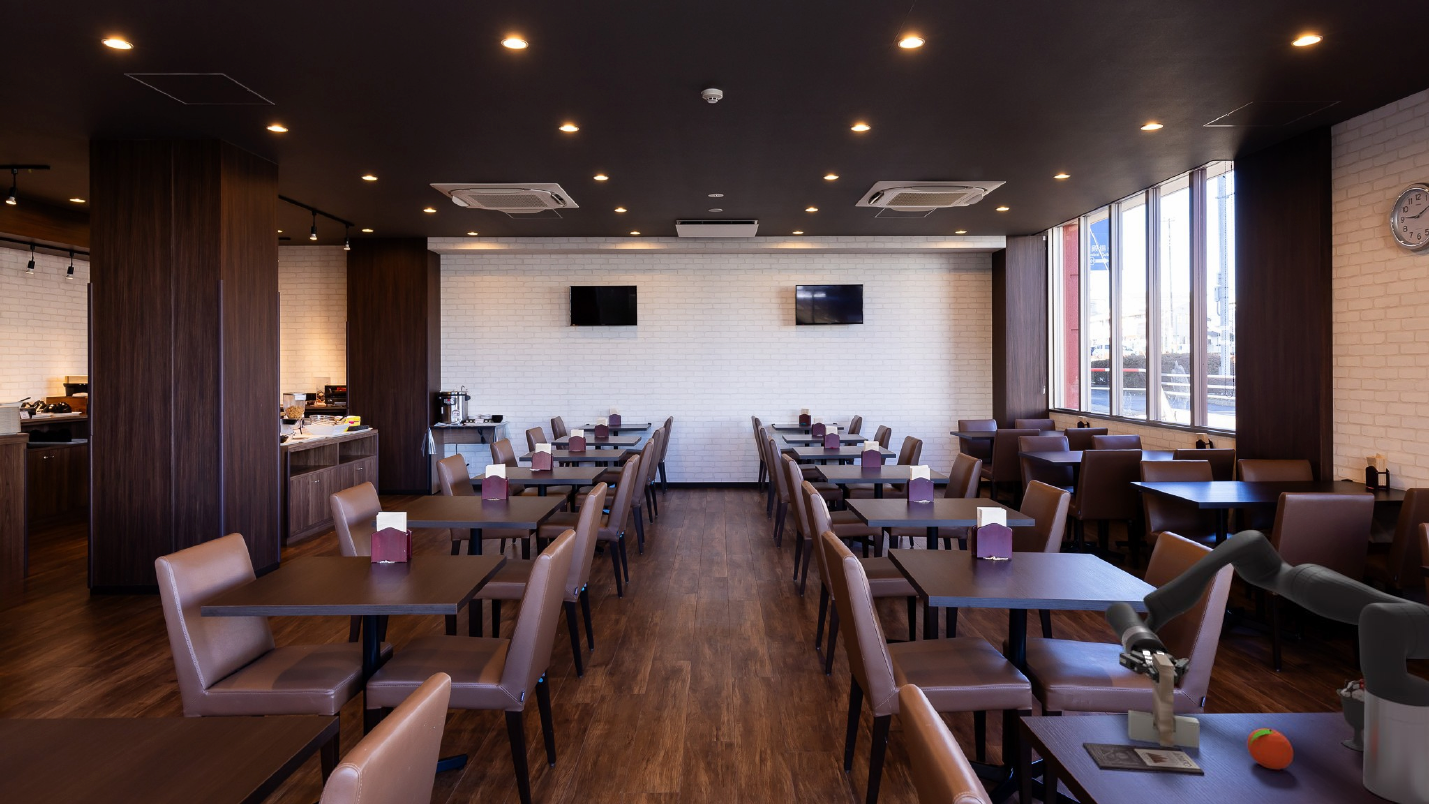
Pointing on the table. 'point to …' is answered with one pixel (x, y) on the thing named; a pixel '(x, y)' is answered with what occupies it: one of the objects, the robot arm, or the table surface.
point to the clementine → (1270, 748)
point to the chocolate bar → (1142, 758)
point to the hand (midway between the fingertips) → (1165, 678)
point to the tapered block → (1164, 699)
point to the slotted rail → (1146, 731)
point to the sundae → (1354, 710)
